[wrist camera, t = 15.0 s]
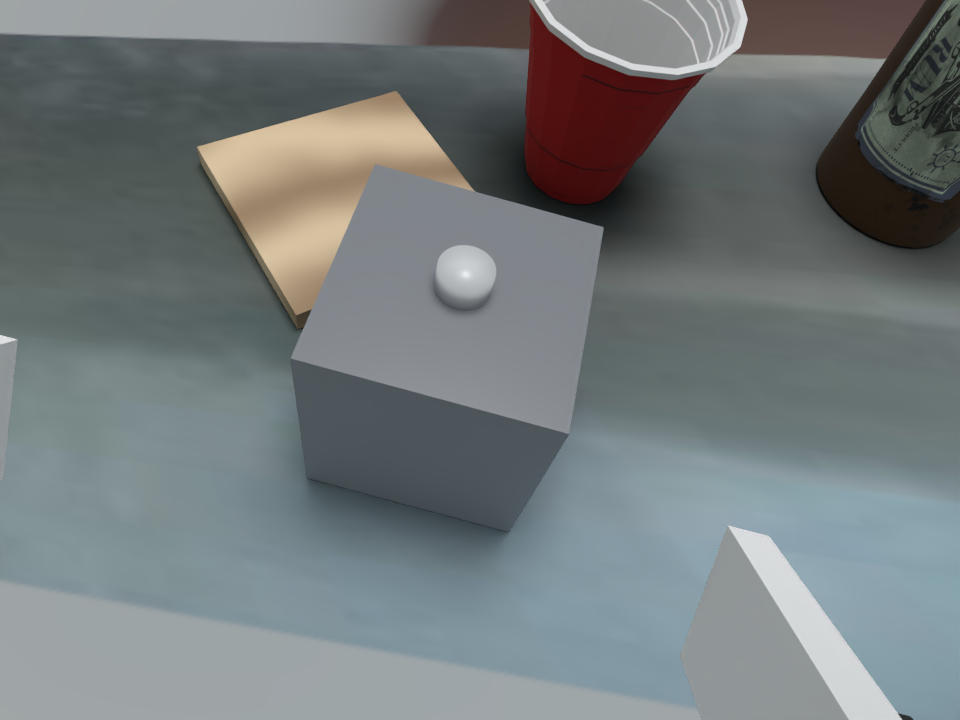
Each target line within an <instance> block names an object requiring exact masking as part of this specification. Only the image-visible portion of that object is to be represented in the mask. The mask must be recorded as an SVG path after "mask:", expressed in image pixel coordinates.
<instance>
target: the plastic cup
mask: <svg viewBox="0 0 960 720" xmlns="http://www.w3.org/2000/svg"><path fill="white" fill-rule="evenodd" d="M529 1H530V8H531V13H530V28H531V35H530V50H529V65H528V80H527V94H526V109H525V114H526V133H525V146H524V153H525V161H526V169H527V173H528V175H529V177H530V178H531V180H532V181H533V183H534V184H535V186H536V187H538V188H539V189H540V190H542V191H543V192H544V193H546V194H547V195H548V196H550V197H552V198H555V199H558V200H561V201H563V202H566V203H572V204H590V203H593V202H597V201H601V200H603V199H604V198H605V197H606V196H607V195H609V194H610V193H611V192H612V191H613V190H614V189H615V188H616V187H617V186H618V185H619V184H620V183H621V181H622V180H623V179H624V177H625V176H626V174H627V173H628V171H629V170H630V168H631V167H632V166H633V164H634V163H635V161H636V160H637V159H638V158H639V157H640V156H641V155H642V154H643V153H644V152H645V150H646V149H647V148H648V146H649V145H650V144H651V142H652V141H653V139H654V138H655V137H656V135H657V134H658V133H659V131H660V130H661V129H662V127H663V126H664V125H665V123H666V122H667V120H668V119H669V118H670V116H671V115H672V114H673V112H674V111H675V110H676V108H677V107H678V106H679V104H680V103H681V101H682V100H683V99H684V97H685V96H686V95H687V93H688V92H689V91H690V89H692V88H693V87H694V86H695V85H696V84H697V83H698V82H699V80H700V79H701V78H702V77H703V76H704V75H705V74H706V73H709V72H711V71H712V70H714V69H715V68H716V67H717V66H718V65H720V64H721V63H722V62H723V61H724V60H726V59H727V58H728V57H729V56H731V55H732V54H733V53H734V52H735V51H736V50H737V49H738V48H740V46H741V42H742V39H743V35H744V32H745V28H746V24H747V20H748V19H747V16H746V12H745V9H744V6H743V3H742V0H529Z"/></svg>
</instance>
